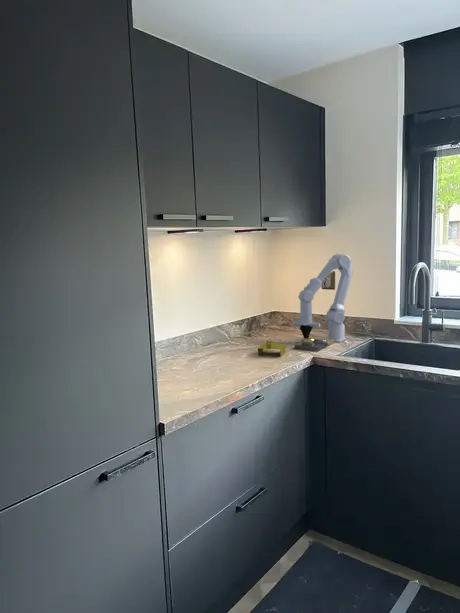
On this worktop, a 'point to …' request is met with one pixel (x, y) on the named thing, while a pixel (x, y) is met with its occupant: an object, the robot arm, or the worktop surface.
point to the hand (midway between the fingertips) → (306, 340)
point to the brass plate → (311, 339)
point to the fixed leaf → (312, 345)
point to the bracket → (272, 347)
